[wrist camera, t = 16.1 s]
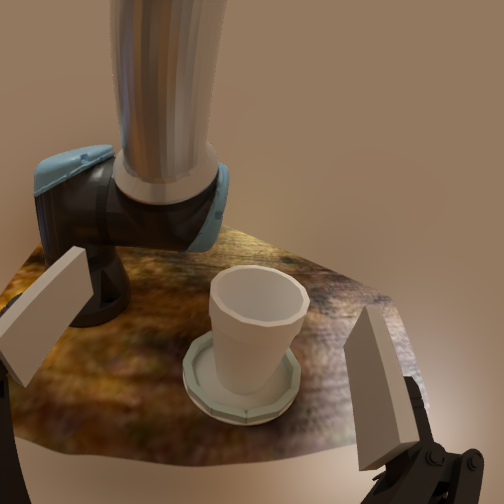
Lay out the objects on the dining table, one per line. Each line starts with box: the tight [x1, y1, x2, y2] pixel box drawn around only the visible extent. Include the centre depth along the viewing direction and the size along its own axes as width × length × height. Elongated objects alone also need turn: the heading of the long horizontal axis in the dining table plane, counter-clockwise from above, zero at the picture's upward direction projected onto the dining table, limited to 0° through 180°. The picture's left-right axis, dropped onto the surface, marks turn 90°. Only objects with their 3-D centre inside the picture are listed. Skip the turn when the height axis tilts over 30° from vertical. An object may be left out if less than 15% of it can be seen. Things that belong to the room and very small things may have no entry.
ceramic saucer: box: [183, 330, 301, 426], centre depth 32 cm, size 14×14×2 cm
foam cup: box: [209, 265, 310, 396], centre depth 29 cm, size 10×9×13 cm
